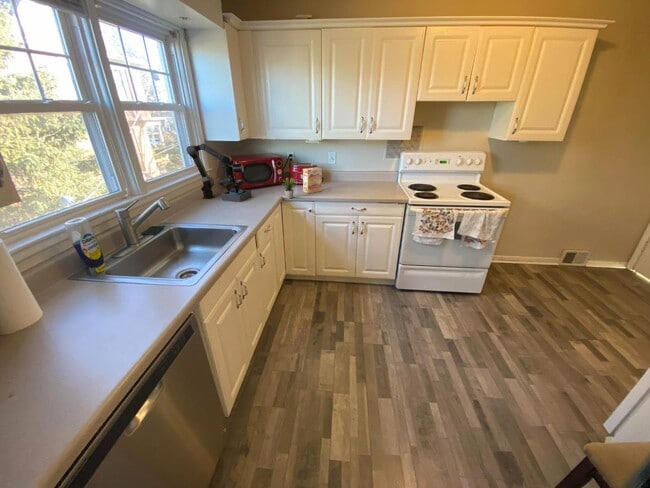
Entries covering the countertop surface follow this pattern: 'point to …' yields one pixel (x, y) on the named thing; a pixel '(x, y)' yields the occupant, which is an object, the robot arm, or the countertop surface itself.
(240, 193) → the rice bowl
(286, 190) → the house plant
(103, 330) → the countertop surface
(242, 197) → the tote
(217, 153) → the robot arm
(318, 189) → the coffeecake box
